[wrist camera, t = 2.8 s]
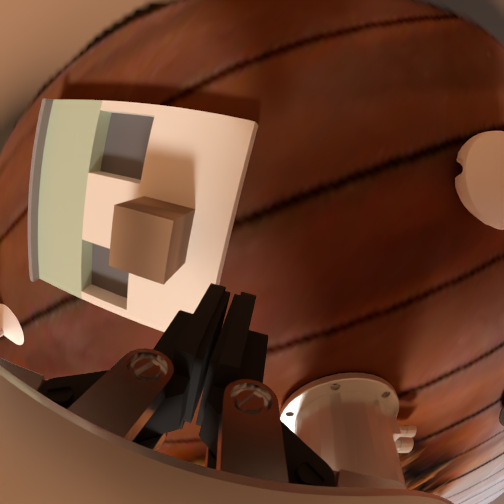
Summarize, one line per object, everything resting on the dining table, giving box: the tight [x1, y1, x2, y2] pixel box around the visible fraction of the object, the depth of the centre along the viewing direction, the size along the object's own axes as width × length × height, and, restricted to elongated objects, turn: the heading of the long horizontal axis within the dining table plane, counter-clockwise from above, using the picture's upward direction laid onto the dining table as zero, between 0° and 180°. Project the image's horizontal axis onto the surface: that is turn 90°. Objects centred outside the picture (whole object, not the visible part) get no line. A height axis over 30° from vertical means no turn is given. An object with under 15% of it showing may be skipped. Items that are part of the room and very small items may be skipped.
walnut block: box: [109, 196, 195, 285], centre depth 18 cm, size 4×4×4 cm
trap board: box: [28, 99, 258, 332], centre depth 21 cm, size 18×17×3 cm
